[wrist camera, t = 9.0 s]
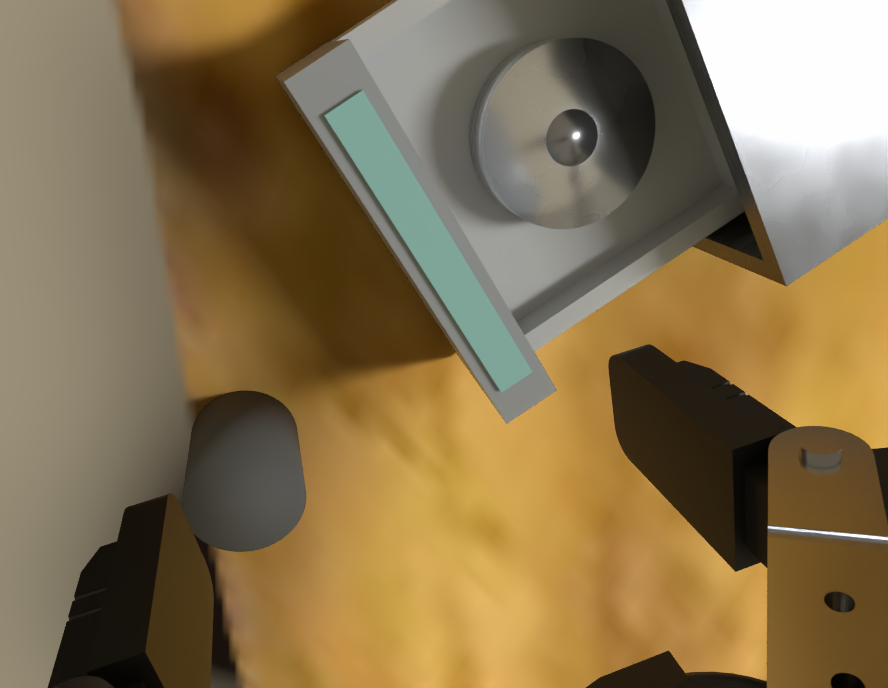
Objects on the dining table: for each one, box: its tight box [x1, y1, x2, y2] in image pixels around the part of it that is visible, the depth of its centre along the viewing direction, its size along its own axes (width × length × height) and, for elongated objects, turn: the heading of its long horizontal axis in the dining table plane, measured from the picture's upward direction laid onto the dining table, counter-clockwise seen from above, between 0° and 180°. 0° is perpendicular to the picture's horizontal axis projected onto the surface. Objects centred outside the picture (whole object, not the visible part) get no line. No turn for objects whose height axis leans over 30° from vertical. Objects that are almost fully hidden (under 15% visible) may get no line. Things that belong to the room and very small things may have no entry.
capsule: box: [182, 391, 306, 552], centre depth 26 cm, size 4×4×4 cm
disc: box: [469, 38, 656, 229], centre depth 24 cm, size 6×6×2 cm
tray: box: [275, 0, 745, 424], centre depth 24 cm, size 12×15×6 cm
